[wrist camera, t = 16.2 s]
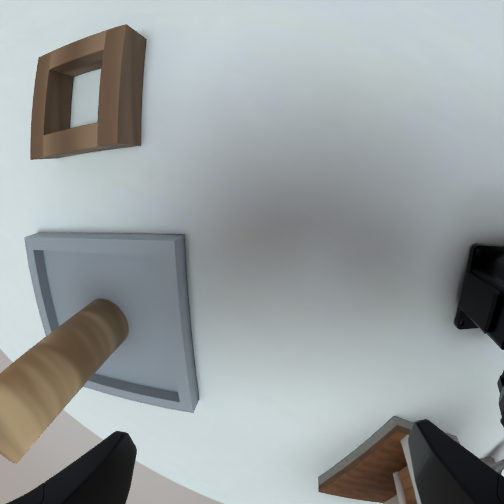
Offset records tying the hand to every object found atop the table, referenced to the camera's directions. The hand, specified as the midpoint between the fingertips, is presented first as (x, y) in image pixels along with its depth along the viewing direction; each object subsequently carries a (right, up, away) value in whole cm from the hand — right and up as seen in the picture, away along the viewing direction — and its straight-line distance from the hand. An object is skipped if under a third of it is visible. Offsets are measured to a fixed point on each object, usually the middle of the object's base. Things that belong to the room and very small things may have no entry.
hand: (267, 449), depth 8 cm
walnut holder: (-12, +17, +10) cm, 23 cm away
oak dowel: (-12, 0, +14) cm, 18 cm away
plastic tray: (-12, 0, +15) cm, 19 cm away
